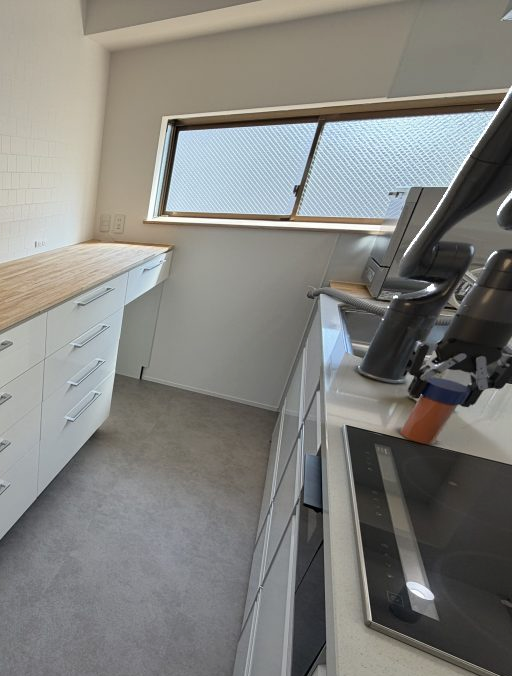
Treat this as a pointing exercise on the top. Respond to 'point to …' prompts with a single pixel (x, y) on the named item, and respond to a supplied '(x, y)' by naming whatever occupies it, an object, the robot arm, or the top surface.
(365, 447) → the top surface
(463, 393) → the jar lid
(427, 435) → the jam jar
